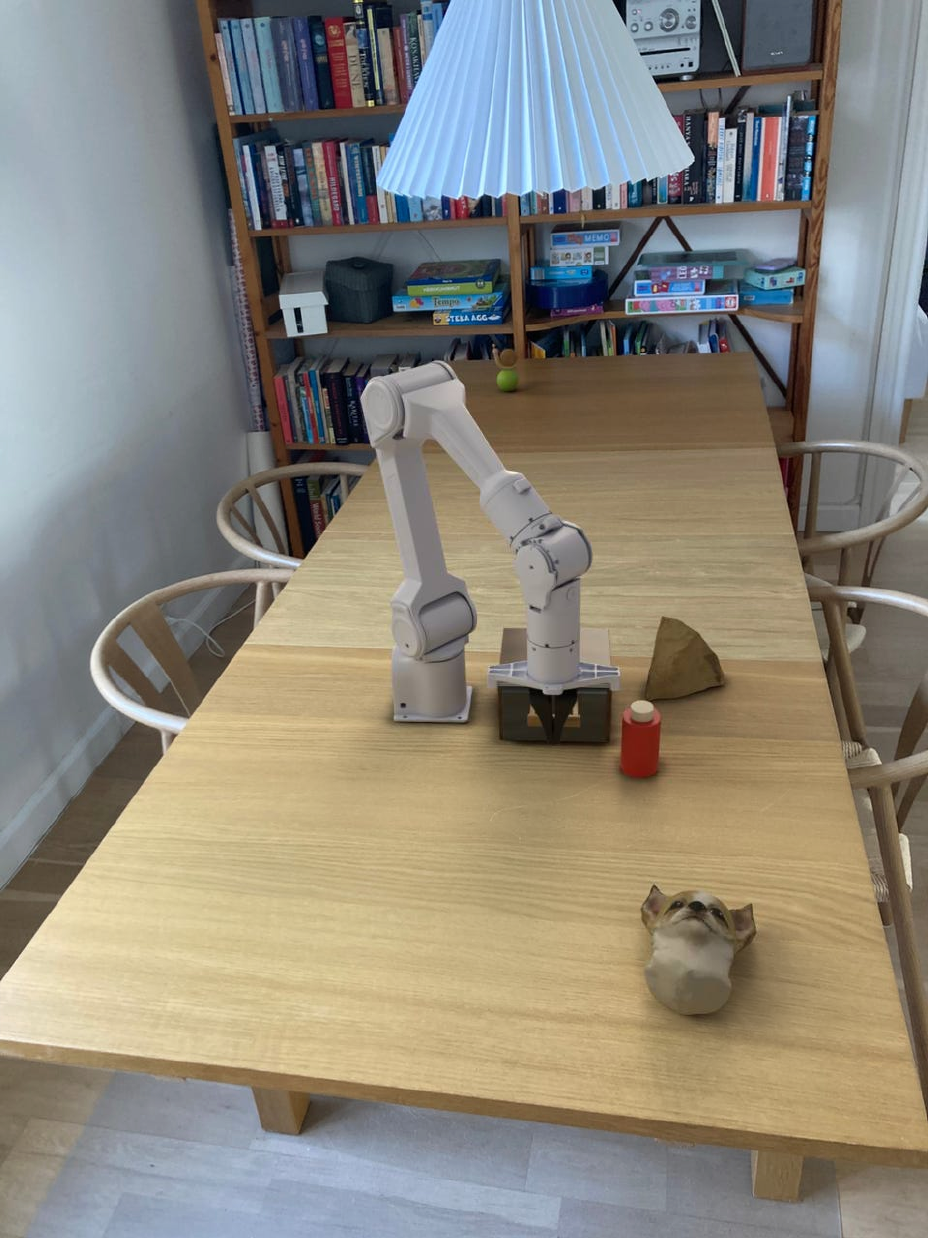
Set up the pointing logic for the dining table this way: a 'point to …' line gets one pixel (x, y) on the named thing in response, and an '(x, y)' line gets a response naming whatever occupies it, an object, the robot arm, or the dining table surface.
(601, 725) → the drawer
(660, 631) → the rock
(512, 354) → the snail figurine
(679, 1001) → the ceramic sculpture
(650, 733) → the red plastic cylinder
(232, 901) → the dining table surface
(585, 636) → the cabinet
